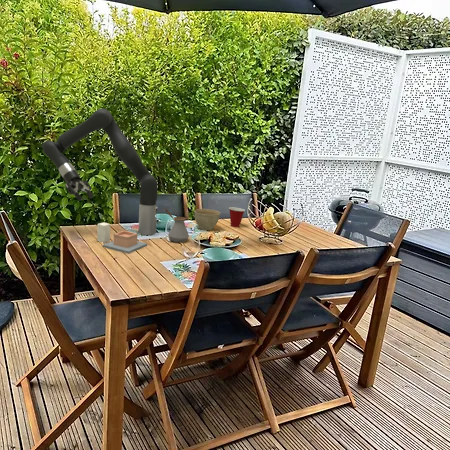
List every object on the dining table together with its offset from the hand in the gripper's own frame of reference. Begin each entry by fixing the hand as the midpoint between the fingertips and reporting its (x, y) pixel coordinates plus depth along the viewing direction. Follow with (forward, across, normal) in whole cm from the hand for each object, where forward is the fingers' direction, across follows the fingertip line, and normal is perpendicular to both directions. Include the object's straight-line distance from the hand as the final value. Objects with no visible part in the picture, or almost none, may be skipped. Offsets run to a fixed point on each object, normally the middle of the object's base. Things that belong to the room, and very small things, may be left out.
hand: (86, 198), depth 213 cm
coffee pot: (+41, +29, -11) cm, 52 cm away
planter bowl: (+45, +60, -16) cm, 76 cm away
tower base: (+33, +1, -3) cm, 33 cm away
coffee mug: (+22, +48, +8) cm, 53 cm away
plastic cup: (+54, +78, -25) cm, 98 cm away
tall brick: (+23, 0, +7) cm, 24 cm away
